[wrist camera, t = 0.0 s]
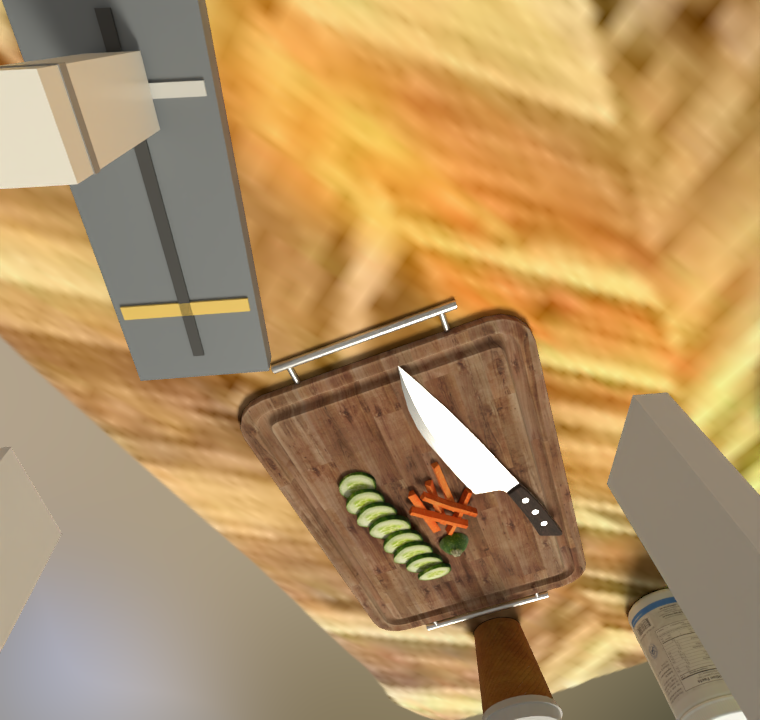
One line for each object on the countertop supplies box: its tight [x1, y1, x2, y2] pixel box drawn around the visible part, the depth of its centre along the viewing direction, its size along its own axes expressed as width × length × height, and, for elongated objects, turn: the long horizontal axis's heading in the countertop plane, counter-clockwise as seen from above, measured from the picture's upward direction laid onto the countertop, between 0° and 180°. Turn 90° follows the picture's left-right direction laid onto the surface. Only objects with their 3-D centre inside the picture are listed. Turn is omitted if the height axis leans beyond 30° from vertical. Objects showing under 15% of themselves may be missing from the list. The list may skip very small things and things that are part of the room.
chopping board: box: [240, 300, 586, 631], centre depth 53 cm, size 45×27×3 cm, turn 20°
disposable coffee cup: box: [474, 618, 562, 720], centre depth 64 cm, size 10×10×12 cm
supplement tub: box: [628, 588, 747, 720], centre depth 63 cm, size 10×10×15 cm
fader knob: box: [0, 51, 160, 189], centre depth 24 cm, size 4×3×12 cm
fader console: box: [2, 0, 271, 381], centre depth 34 cm, size 26×10×2 cm, turn 2°
